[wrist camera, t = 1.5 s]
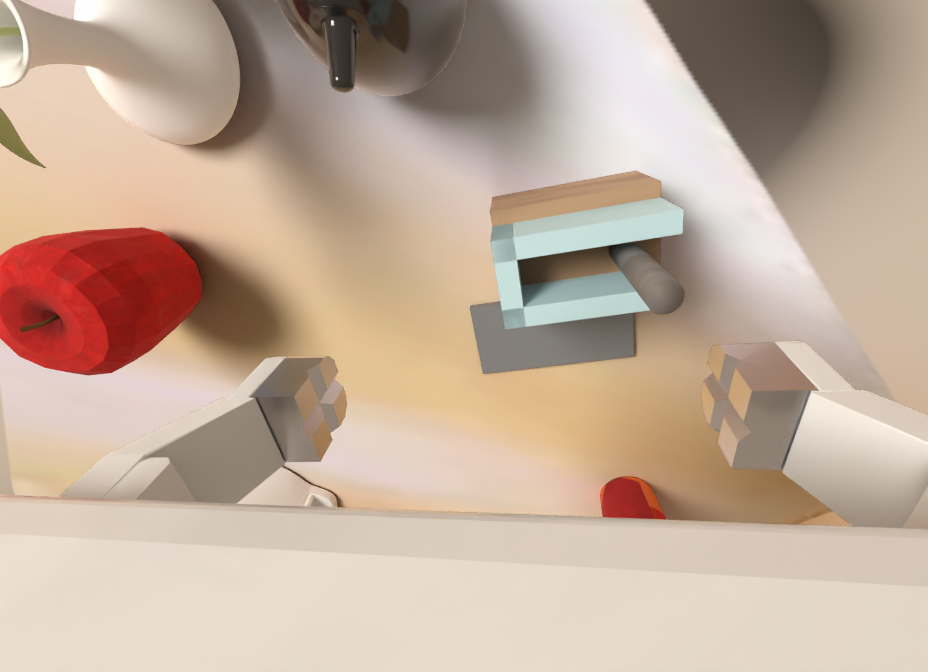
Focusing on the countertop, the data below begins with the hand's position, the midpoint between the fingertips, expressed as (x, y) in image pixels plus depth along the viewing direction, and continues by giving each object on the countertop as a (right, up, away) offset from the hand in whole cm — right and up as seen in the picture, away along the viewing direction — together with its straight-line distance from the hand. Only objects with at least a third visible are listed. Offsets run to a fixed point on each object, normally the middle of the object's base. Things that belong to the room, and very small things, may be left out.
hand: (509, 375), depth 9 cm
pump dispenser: (-6, +23, +20) cm, 31 cm away
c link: (+7, +6, +20) cm, 22 cm away
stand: (+7, +9, +26) cm, 28 cm away
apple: (-28, +7, +30) cm, 42 cm away
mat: (+7, +1, +30) cm, 31 cm away
